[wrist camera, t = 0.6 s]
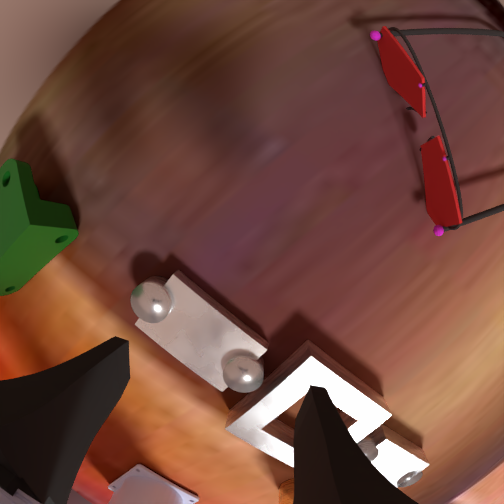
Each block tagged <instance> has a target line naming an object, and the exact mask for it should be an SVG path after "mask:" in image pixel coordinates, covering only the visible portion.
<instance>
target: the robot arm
mask: <svg viewBox="0 0 504 504" xmlns="http://www.w3.org/2000/svg"><path fill="white" fill-rule="evenodd" d="M129 379H130V366H129V341H128V340H125V339H122V338H119V337H116V336H115V337H113V338H111V339H109V340H107V341H105V342H104V343H102V344H100V345H98V346H96V347H94V348H93V349H91V350H89V351H87V352H85V353H83V354H81V355H79V356H77V357H75V358H73V359H71V360H68V361H66V362H64V363H62V364H59V365H57V366H55V367H52V368H50V369H47V370H44V371H41V372H38V373H35V374H31V375H27V376H23V377H18V378H14V379H9V380H2V381H0V504H67V500H68V497H69V494H70V491H71V488H72V486H73V483H74V480H75V478H76V475H77V473H78V470H79V468H80V466H81V464H82V461H83V459H84V457H85V455H86V453H87V451H88V448H89V446H90V444H91V442H92V441H93V439H94V437H95V435H96V434H97V432H98V431H99V429H100V428H101V426H102V425H103V423H104V422H105V420H106V419H107V417H108V416H109V414H110V413H111V411H112V410H113V408H114V407H115V405H116V404H117V402H118V401H119V399H120V398H121V396H122V394H123V392H124V390H125V388H126V386H127V384H128V381H129ZM293 449H294V500H293V504H418V503H417V502H415V501H414V500H412V499H411V498H409V497H408V496H407V495H405V494H404V493H403V492H402V491H400V490H399V489H398V488H397V487H396V486H394V485H393V484H392V483H391V482H390V481H389V480H388V479H387V478H386V477H385V476H384V475H383V474H382V473H381V472H380V471H379V470H378V469H377V468H376V467H375V466H374V465H373V464H372V462H371V461H370V460H369V459H368V458H367V456H366V455H365V454H364V453H363V451H362V450H361V448H360V447H359V446H358V444H357V443H356V441H355V440H354V438H353V437H352V435H351V433H350V432H349V430H348V428H347V427H346V425H345V423H344V422H343V420H342V418H341V416H340V414H339V413H338V411H337V409H336V407H335V405H334V403H333V401H332V399H331V397H330V395H329V393H328V391H327V389H326V387H320V386H314V385H310V387H309V389H308V391H307V394H306V396H305V399H304V401H303V403H302V406H301V408H300V410H299V413H298V415H297V417H296V420H295V429H294V440H293ZM108 488H109V489H110V490H112V491H113V492H114V493H113V495H112V497H111V499H110V501H109V503H108V504H193V503H195V502H198V501H199V497H198V496H196V495H194V494H192V493H190V492H188V491H186V490H184V489H182V488H180V487H179V486H177V485H175V484H173V483H171V482H170V481H168V480H166V479H164V478H163V477H161V476H159V475H158V474H156V473H154V472H153V471H151V470H149V469H148V468H146V467H145V466H143V465H141V464H137V465H136V466H134V467H133V468H132V469H130V470H129V471H128V472H126V473H125V474H123V475H122V476H121V477H119V478H118V479H117V480H115V481H114V482H112V483H111V484H110V485H109V486H108Z"/></svg>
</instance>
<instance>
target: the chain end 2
mask: <svg viewBox="0 0 504 504" xmlns="http://www.w3.org/2000/svg"><path fill="white" fill-rule="evenodd" d="M310 385H314V386H320V387H326V389H327V391H328V393H329V395H330V397H331V399H332V401H333V403H334V405H335V406H337V407H338V408H340V409H341V410H343V411H344V412H346V413H348V414H349V415H350V416H349V417H348V418H347V419H345V420H344V421H343V422H344V423H345V425H346V427H347V428H348V430H349V432H350V433H351V435H352V437H353V438H354V440H355V441H356V443H357V444H358V446H359V447H360V448H361V450H362V451H363V453H364V454H365V455H366V456H367V458H368V459H369V460H370V461H371V462H372V464H373V465H374V466H375V467H376V468H377V469H378V470H379V471H380V472H381V473H382V474H383V475H384V476H385V477H386V478H387V479H388V480H389V481H390V482H391V483H392V484H393V485H394V486H396V487H406V486H410V485H412V484H414V483H415V482H417V481H418V480H419V479H420V478H421V477H422V470H423V469H425V468H426V467H427V466H429V465H430V464H429V462H428V460H427V458H426V455H425V453H424V451H423V449H422V448H420V447H418V446H417V445H415V444H414V443H412V442H410V441H409V440H407V439H406V438H404V437H402V436H401V435H399V434H398V433H396V432H395V431H393V430H392V429H390V428H389V427H387V426H385V425H384V424H382V423H383V422H384V421H385V420H387V419H388V418H389V417H390V416H392V414H391V412H390V410H389V408H388V406H387V405H386V404H384V403H383V402H382V401H380V400H379V399H377V398H376V397H375V396H373V395H372V394H371V393H369V392H368V391H367V390H365V389H364V388H363V387H361V386H360V385H359V384H357V383H356V382H355V381H353V380H352V379H351V378H349V377H348V376H347V375H345V374H344V373H343V372H341V371H340V370H339V369H337V368H336V367H335V366H333V365H332V364H331V363H329V362H328V361H327V360H325V359H324V358H323V357H322V356H320V355H319V354H318V353H316V352H315V351H314V350H312V349H311V348H310V347H309V348H308V349H307V350H306V351H305V352H304V353H303V354H302V355H301V356H300V357H298V358H297V359H296V360H295V361H294V362H293V363H292V364H291V365H290V366H289V367H288V368H287V369H285V370H284V371H283V372H282V373H281V374H280V375H279V376H278V377H277V378H275V379H274V380H273V381H272V382H271V383H270V384H269V385H267V386H266V387H265V388H264V389H263V390H262V391H261V392H259V393H258V394H257V395H256V396H255V397H253V398H252V399H251V400H250V401H249V402H248V403H246V404H245V405H244V406H243V407H242V408H240V409H239V410H238V411H237V412H235V413H234V414H233V415H232V416H230V417H229V418H228V419H227V422H226V426H225V429H226V430H227V431H229V432H230V433H232V434H234V435H235V436H237V437H239V438H240V439H242V440H244V441H245V442H247V443H249V444H251V445H252V446H254V447H256V448H258V449H259V450H261V451H263V452H265V453H267V454H269V455H270V456H272V457H274V458H276V459H278V460H280V461H282V462H284V463H286V464H288V465H290V466H292V467H294V449H293V440H294V438H292V437H290V436H289V435H287V434H285V433H284V432H282V431H280V430H279V429H277V428H275V427H274V426H272V425H270V424H269V422H271V421H272V420H273V419H275V418H276V417H277V416H279V415H280V414H281V413H282V412H284V411H285V410H286V409H287V408H289V407H290V406H291V405H292V404H294V403H295V402H296V401H297V400H298V399H300V398H301V397H302V396H303V395H304V394H306V393H307V391H308V389H309V387H310Z"/></svg>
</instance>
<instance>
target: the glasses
mask: <svg viewBox="0 0 504 504" xmlns="http://www.w3.org/2000/svg"><path fill="white" fill-rule="evenodd" d="M392 30H394V31H392ZM423 34H472V35H491V36H501V37H504V32H502V31H498V30H487V29H468V28H429V29H408V30H399V29H397V28H395V27H391V28H389V29H388V28H387V27H386V26H383V27H382V29H381V31H380V32H378V31H371V32H370V37H371V39H373V40H376V41H377V42H378V47H379V52H380V57H381V62H382V68H383V71H384V74H385V76H386V79H387V81H388V84H389V85H390V86H391V87H392V88H393V89H394V90H395V91H396V92H397V93H399V94H400V95H401V96H402V97H403V98H404V99H405V100H406V101H407V102H408V103H409V104H410V105H411V106H412V107H413V108H412V107H407V108H406V109H407V110H411V109H412V110H415V111H416V112H418V113H419V114H420V115H421V116H422V118H425V117H426V113H427V112H426V102H425V86H426V89H427V92H428V94H429V97H430V100H431V102H432V105H433V108H434V111H435V114H436V117H437V120H438V123H439V126H440V129H441V132H442V135H443V139H444V142H445V146H446V149H447V153H448V156H446V153H445V150H444V147H443V143H442V140H441V137H440V136H437V137H434V136H431V137H430V138H429V139H428V140H427V142H426V143H425V144H423V145H421V148H420V151H421V154H422V162H423V171H424V182H425V194H426V208H427V213H428V214H429V216H430V217H431V219H432V220H433V222H434V223H435V224H436V226H435V227H434V230H433V231H434V234H435V235H437V236H441V235H442V234H443V233H444V232H445V231H448V230H456V229H458V228H459V227H460V226H463V225H465V224H468V223H471V222H474V221H477V220H480V219H482V218H485V217H488V216H491V215H493V214H496V213H499V212H502V211H504V204H502V205H499V206H496V207H494V208H491V209H488V210H486V211H483V212H480V213H477V214H474V215H472V216H469V217H466V218H463V207H462V199H461V192H460V187H459V183H458V178H457V174H456V170H455V166H454V162H453V158H452V154H451V151H450V147H449V144H448V140H447V137H446V134H445V130H444V127H443V124H442V121H441V118H440V115H439V112H438V109H437V106H436V103H435V101H434V98H433V95H432V93H431V90H430V87H429V85H428V82H427V80H426V77H425V75H424V73H423V70H422V68H421V65H420V63H419V61H418V59H417V56H416V54H415V52H414V50H413V48H412V47H411V45H410V43H409V41H408V40H407V38H406V37H405V35H423ZM394 36H401V37H402V38H403V40H404V41H405V43H406V44H407V46H408V48H409V50H410V52H411V54H412V56H413V58H414V60H415V62H416V65H417V66H416V65H415V63H414V62H413V61H412V59H411V58H410V57H409V55H408V54H407V52H406V51H405V50H404V49H403V47H402V46H401V45H400V43H399V42H398V41H397V39H396V38H395V37H394ZM417 67H418V68H417ZM448 160H450V164H451V168H452V172H453V176H454V180H455V185H456V189H457V195H458V199H457V195H456V191H455V187H454V183H453V179H452V175H451V171H450V167H449V164H448ZM458 201H459V204H458ZM462 218H463V219H462Z"/></svg>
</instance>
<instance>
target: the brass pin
mask: <svg viewBox="0 0 504 504" xmlns="http://www.w3.org/2000/svg"><path fill="white" fill-rule="evenodd" d="M293 500H294V479H290V480H287V481H285V482H283V483H282V484H281V485H280V487H279V504H293Z"/></svg>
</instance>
